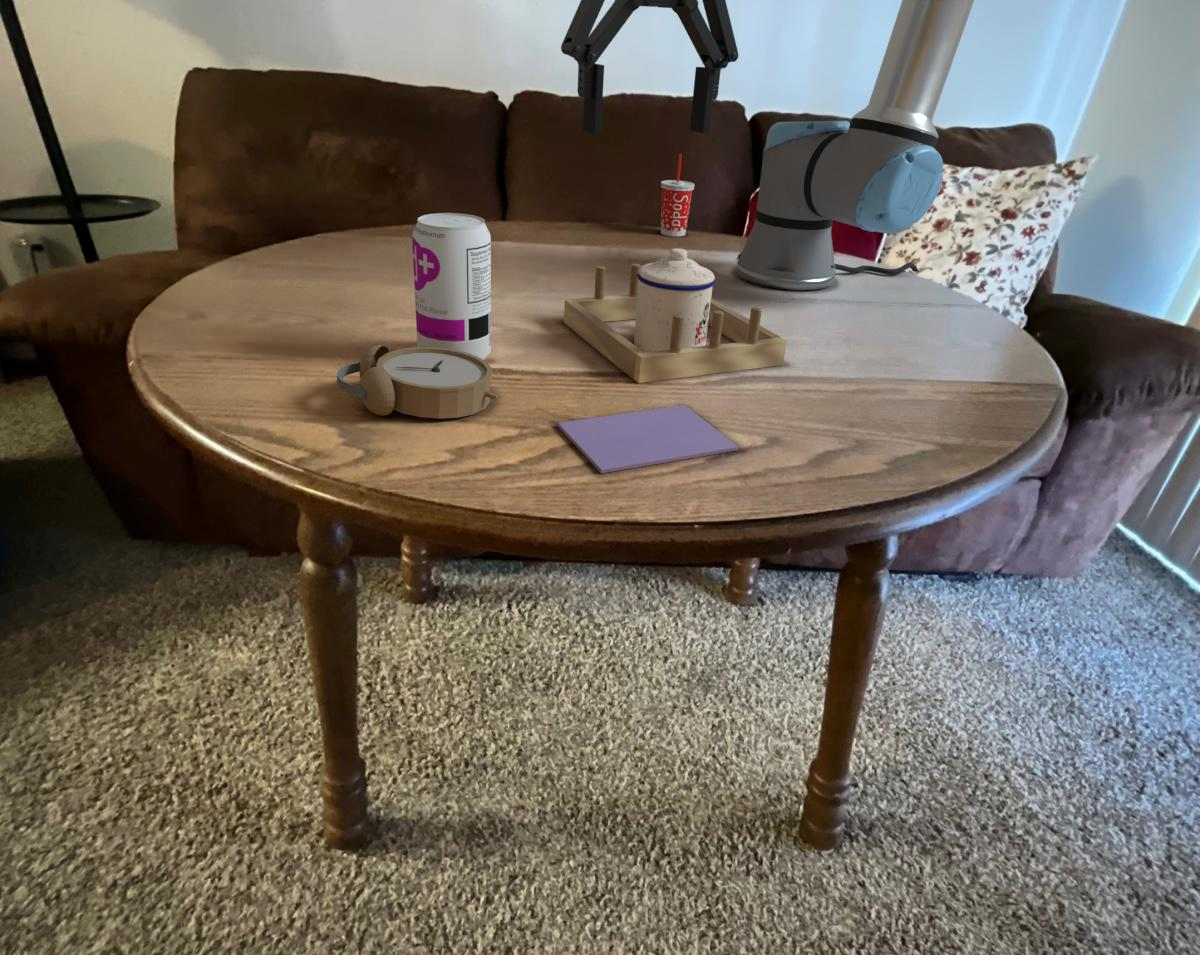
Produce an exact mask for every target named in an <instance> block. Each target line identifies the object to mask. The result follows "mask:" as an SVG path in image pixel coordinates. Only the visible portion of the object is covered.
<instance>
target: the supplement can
mask: <svg viewBox="0 0 1200 955" xmlns="http://www.w3.org/2000/svg"><path fill="white" fill-rule="evenodd" d="M485 222H486V220H485V219H484V218H482V217H481V216H477V215H474V214H467V213H457V212H439V213H429V214H424V215H421V216H418V217H417V223H416V224H415V226H414V229H413V231H412V234H411V241H412V244H411V245H412V262H413V264H412V265H413V282H414V283H413V284H414V303H415V305H414V307H415V325H416V347H437V348H448V349H453V350H458V351H462V352H466V353H469V354H472V355H474V356H477V357H479V358H481V359H482V360H484V361H485V359H486V358H487V357H488V355H489V354H490V353H492V269H491V268H492V256H491V255H492V254H491V252H492V249H491V248H492V244H491V242H492V241H491V240H492V239H491V238H492V237H491V233H490V231H489V229H488V227H487V225H486V223H485Z"/></svg>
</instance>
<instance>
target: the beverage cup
mask: <svg viewBox="0 0 1200 955" xmlns="http://www.w3.org/2000/svg"><path fill="white" fill-rule="evenodd" d="M682 157H683V153H678V160H677V172H676V180H675V179H666V180H662V181H660V188H661V206H660V207H661V208H660V234H661V235H663V236H667V237H684V236H686V232H687V227H688V220H689V215H690V208H691V203H692V202H691V201H692V196H693V191H694V190H695V183H694V182H691V181H686V180H680V176H681V167H682Z"/></svg>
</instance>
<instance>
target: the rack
mask: <svg viewBox="0 0 1200 955" xmlns="http://www.w3.org/2000/svg"><path fill="white" fill-rule="evenodd" d="M641 267H642V265H641V264H639V263H632V264H631V266H630V279H629V294H618V295H606V296H605V280H606V267H605V266H602V265H597V266H595V276H594V294H593V295H594V296H593V297H579V298H568V299H564V307H563V308H564V309H563V310H564V311H563V323H564V324H565V325H566V326H567V327H568V328H569V329H571V330H572V331H573V332H574V333H575V334H577V335H578V336H579V337H581V338H582V339H583V340H584V341H586V342H587V343H588V344H589V345H591V346H592V347H593V348H594V349H595V350H597V351H598V352H599V353H600V354H602V355H603V356H604V357H605V358H606V359H608V360H609V361H610V362H611V363H613V365H615V366H616V367H617V368H618V369H620V370H621V371H622V372H623V373H625V374H626V375H627V376H629V378H631V379H632V380H633V381H635V382H637V383H638V384H644V383H650V382H652V383H653V382H659V381H667V380H674V379H683V378H690V377H692V378H693V377H699V376H707V375H708V376H709V375H715V374H716V375H717V374H722V373H731V372H738V371H739V372H741V371H747V370H754V369H755V370H756V369H762V368H763V369H764V368H771V367H778V366H784V361H785V354H786V348H787V343H788V340H786V339H784V338H783V337H782V336H780V335H778V334H777V333H775V332H773V331H771V330H769V329H768V328H766V327H764V326H762V325H761V318H762V312H763V309H762V308H761V307H758V306H753V307H751V308H750V314H749V318H748V317H746V316H744V315H742V314H741V313H739V312H737V311H735V310H733V309H732V308H730V307H729V306H726V305H724V304H723V303H720V302H719V301H717V300H715V299H714V298H712V297H711V304H710V312H709V321H708V327H710V331H709V332H710V333H709V340H708V345H705V346H700V347H691V348H682V349H681V342H682V332H683V323H684V316H683V315H680V314H675V315H673V321H672V330H671V340H670V350H663V351H654V352H643V351H642V350H640V349H639V348H638V347H636V345H635V343H632V342H631V341H630V340H628V339H627V338H626V337H624V336H623V335H622V334H621V333H619V332H617V330H615V329H614V328H612V327H611V326H610V325H609V324H607V323H608V322H618V321H629V320H636V311H637V298H638V285H639V279H638V277H637V274H638V272H639V269H640V268H641ZM605 322H607V323H605ZM722 336H725V337H726V338H728V339H730V340H732V341H733V342H728V343H721V338H722Z"/></svg>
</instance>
